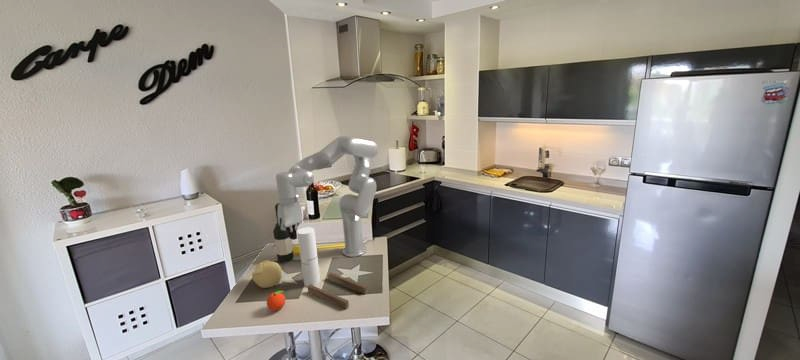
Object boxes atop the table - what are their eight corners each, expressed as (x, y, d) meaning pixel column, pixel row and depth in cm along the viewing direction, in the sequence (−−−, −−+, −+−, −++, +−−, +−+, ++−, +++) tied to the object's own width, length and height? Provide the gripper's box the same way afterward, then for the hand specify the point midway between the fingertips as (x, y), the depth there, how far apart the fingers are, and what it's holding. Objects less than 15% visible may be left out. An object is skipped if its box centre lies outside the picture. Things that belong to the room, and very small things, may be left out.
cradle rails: (330, 278, 150) (329, 272, 150) (367, 292, 138) (367, 286, 138) (308, 292, 140) (307, 286, 139) (346, 309, 128) (345, 302, 127)
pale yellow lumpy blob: (261, 277, 154) (257, 256, 151) (286, 276, 154) (283, 255, 151) (250, 291, 143) (246, 269, 140) (278, 290, 143) (274, 268, 140)
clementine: (282, 300, 136) (280, 284, 134) (292, 306, 131) (290, 290, 129) (264, 310, 130) (261, 294, 128) (273, 316, 125) (271, 300, 124)
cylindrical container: (320, 284, 146) (314, 232, 139) (304, 287, 144) (297, 235, 137) (319, 276, 152) (313, 226, 146) (303, 279, 150) (297, 228, 144)
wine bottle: (289, 263, 166) (281, 207, 158) (274, 262, 167) (265, 206, 160) (297, 255, 173) (290, 201, 166) (283, 254, 175) (275, 201, 167)
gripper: (296, 194, 152) (301, 231, 156) (268, 203, 140) (274, 243, 144) (307, 196, 147) (311, 234, 152) (279, 206, 136) (284, 247, 140)
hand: (293, 238), depth 148 cm, fingers closed
